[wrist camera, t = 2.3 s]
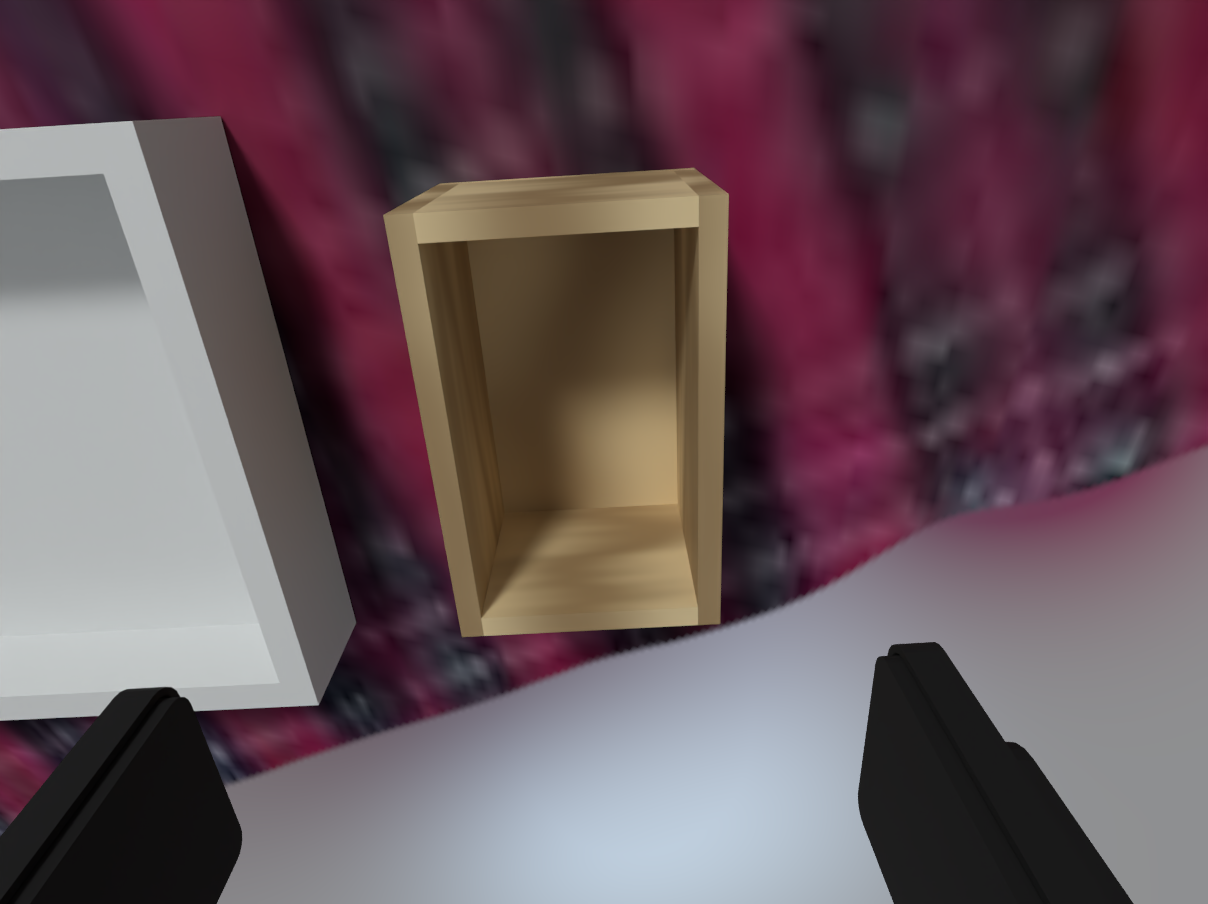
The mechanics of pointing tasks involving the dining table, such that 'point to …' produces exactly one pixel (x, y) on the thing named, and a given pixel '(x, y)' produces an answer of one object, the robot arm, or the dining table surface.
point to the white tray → (150, 436)
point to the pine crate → (572, 393)
